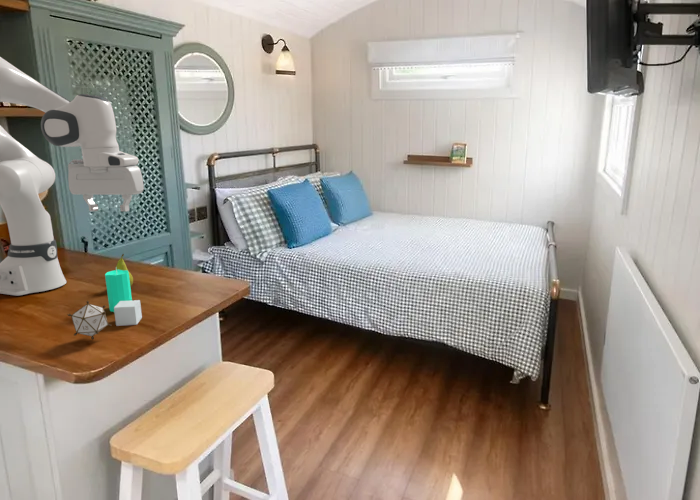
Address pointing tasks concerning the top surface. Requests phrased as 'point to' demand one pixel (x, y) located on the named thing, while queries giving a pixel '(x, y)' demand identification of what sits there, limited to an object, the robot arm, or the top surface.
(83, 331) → the game die
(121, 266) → the fruit
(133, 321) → the grey block
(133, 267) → the top surface
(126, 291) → the candle
